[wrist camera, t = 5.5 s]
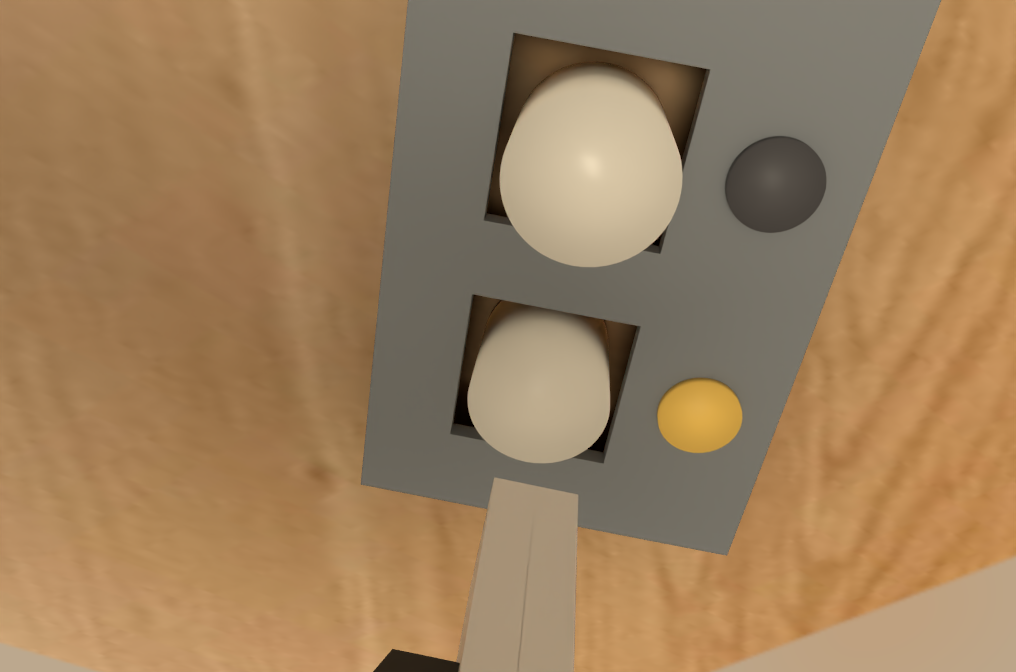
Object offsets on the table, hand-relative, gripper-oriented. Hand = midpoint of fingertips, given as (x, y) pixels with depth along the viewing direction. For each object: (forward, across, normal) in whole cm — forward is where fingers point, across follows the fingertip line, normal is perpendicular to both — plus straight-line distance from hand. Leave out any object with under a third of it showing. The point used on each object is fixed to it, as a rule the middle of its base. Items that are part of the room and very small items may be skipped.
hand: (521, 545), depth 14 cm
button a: (+12, 0, -2) cm, 12 cm away
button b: (+10, 0, +5) cm, 11 cm away
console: (+12, +1, +5) cm, 13 cm away
